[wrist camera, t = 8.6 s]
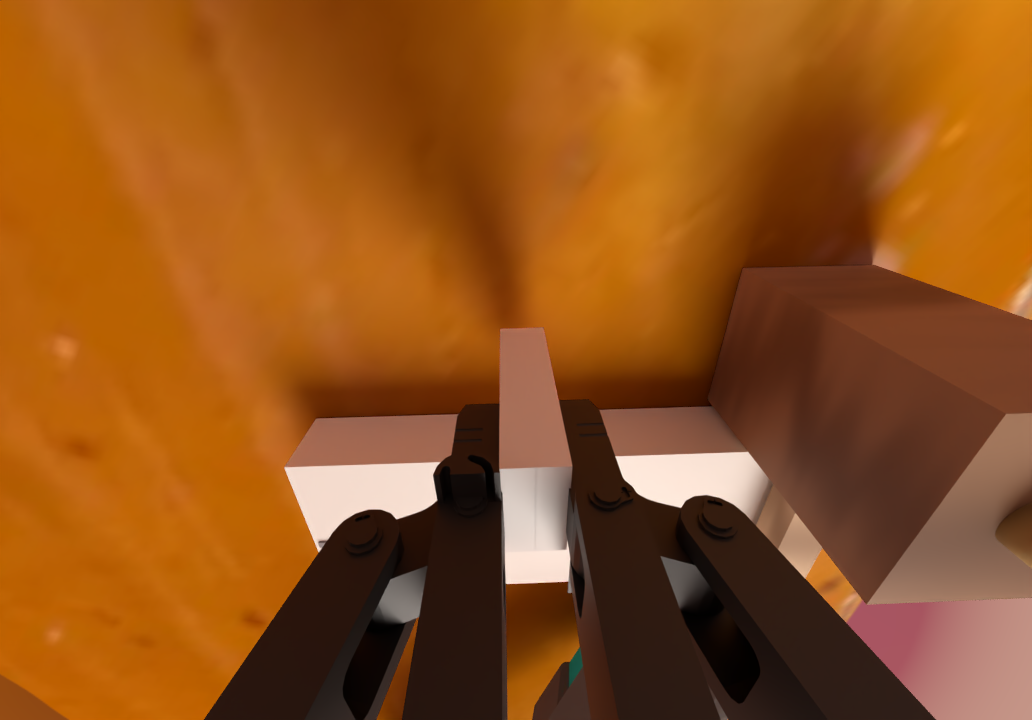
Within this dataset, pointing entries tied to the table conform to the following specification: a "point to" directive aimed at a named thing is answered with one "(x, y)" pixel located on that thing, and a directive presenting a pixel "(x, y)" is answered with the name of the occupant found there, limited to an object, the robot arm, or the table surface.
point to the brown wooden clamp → (885, 429)
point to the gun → (573, 695)
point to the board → (429, 440)
